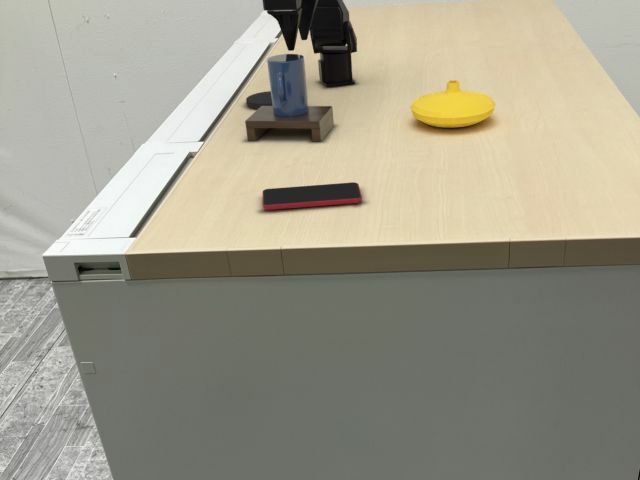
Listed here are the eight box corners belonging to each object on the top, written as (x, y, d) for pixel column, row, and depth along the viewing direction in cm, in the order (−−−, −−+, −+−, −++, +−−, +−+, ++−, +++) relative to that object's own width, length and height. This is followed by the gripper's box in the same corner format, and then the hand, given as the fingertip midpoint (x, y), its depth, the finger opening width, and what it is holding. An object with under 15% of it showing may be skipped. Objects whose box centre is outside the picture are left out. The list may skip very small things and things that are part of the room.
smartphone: (362, 198, 124) (262, 205, 123) (362, 204, 124) (263, 211, 123) (358, 181, 129) (262, 189, 128) (358, 187, 130) (263, 194, 129)
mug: (279, 106, 156) (273, 53, 150) (312, 106, 155) (307, 53, 149) (266, 119, 150) (259, 64, 144) (301, 119, 149) (295, 64, 143)
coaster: (289, 94, 176) (288, 88, 175) (299, 106, 169) (298, 99, 168) (243, 100, 174) (242, 94, 174) (251, 112, 167) (250, 106, 166)
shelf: (263, 125, 159) (261, 105, 157) (333, 125, 157) (332, 106, 155) (247, 140, 152) (244, 120, 150) (321, 141, 149) (319, 121, 147)
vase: (435, 140, 147) (435, 97, 142) (396, 119, 158) (395, 79, 153) (511, 125, 151) (513, 84, 147) (467, 106, 163) (468, 67, 158)
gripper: (261, -58, 156) (272, 35, 166) (228, -44, 142) (242, 56, 152) (318, -60, 154) (325, 34, 164) (290, -46, 140) (300, 56, 150)
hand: (297, 45), depth 157 cm, fingers open, 9 cm apart
